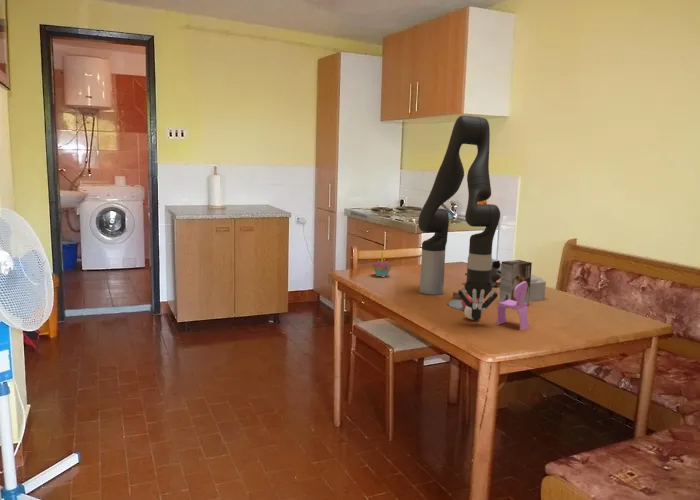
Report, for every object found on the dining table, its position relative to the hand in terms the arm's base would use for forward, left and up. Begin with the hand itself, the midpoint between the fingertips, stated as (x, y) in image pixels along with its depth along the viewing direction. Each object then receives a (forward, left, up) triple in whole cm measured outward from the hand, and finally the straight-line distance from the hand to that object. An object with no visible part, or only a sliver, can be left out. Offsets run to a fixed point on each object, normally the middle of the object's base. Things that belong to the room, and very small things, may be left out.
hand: (476, 319), depth 176 cm
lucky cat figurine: (+8, +59, -2) cm, 59 cm away
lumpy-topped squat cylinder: (+22, +40, -2) cm, 46 cm away
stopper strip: (-1, +32, -2) cm, 32 cm away
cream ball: (-1, +5, +1) cm, 6 cm away
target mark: (-1, +23, -2) cm, 23 cm away
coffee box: (+16, +28, -2) cm, 32 cm away
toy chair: (+12, +1, -2) cm, 12 cm away
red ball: (-1, +17, +1) cm, 17 cm away
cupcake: (-36, +64, -2) cm, 73 cm away
